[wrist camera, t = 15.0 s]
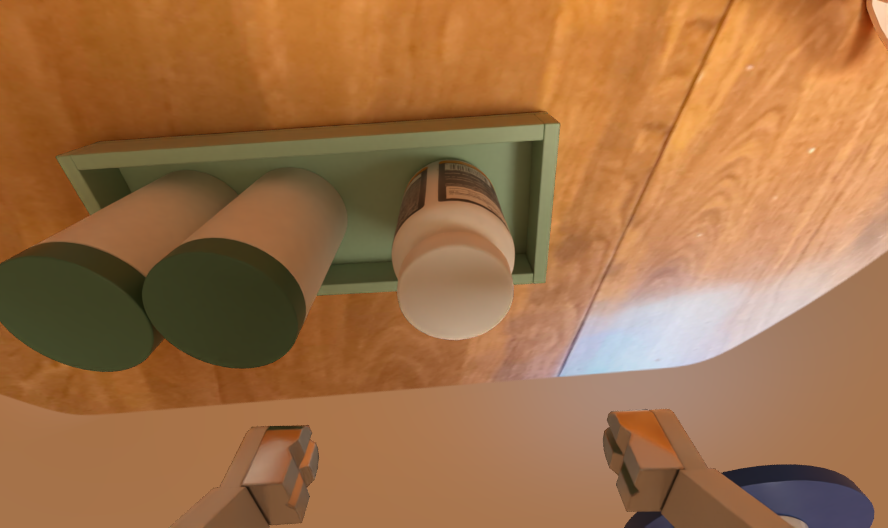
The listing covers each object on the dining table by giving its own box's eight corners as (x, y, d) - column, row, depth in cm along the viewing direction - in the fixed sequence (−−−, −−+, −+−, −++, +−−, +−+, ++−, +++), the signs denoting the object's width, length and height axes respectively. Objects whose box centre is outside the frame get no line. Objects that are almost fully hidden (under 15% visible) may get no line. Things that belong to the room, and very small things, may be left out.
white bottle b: (265, 255, 25) (177, 369, 17) (176, 260, 26) (45, 375, 17) (233, 166, 22) (106, 252, 14) (133, 173, 22) (-54, 261, 14)
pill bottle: (432, 256, 26) (428, 368, 17) (385, 183, 23) (353, 274, 15) (511, 218, 24) (548, 320, 16) (470, 136, 22) (489, 207, 13)
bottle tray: (546, 111, 21) (561, 122, 19) (535, 258, 26) (545, 283, 24) (98, 141, 22) (54, 156, 19) (171, 279, 27) (143, 305, 24)
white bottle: (353, 255, 26) (309, 369, 17) (262, 255, 25) (173, 369, 17) (341, 167, 22) (280, 252, 14) (238, 166, 22) (113, 251, 14)
